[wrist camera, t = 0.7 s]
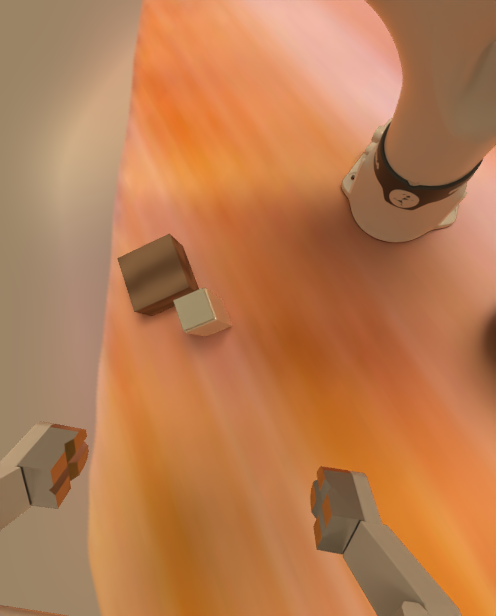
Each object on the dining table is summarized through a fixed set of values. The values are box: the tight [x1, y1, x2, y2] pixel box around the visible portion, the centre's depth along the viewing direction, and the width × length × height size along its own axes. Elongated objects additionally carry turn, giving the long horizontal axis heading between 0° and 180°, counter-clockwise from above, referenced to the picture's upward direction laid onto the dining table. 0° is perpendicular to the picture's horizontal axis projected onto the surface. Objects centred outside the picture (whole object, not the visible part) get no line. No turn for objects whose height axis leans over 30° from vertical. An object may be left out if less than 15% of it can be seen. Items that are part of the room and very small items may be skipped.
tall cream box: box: [173, 288, 232, 337], centre depth 46 cm, size 5×5×11 cm
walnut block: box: [117, 234, 199, 316], centre depth 52 cm, size 10×10×6 cm
